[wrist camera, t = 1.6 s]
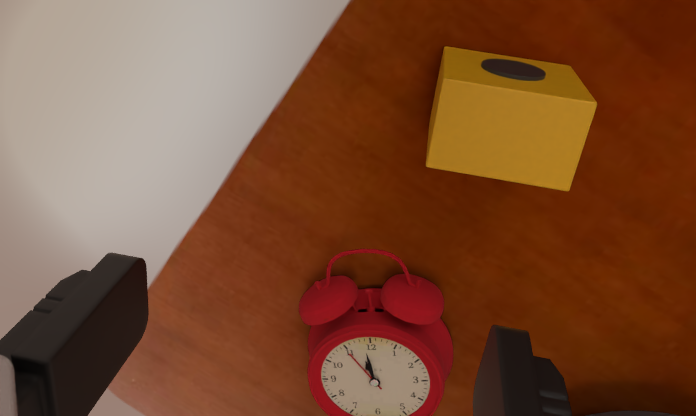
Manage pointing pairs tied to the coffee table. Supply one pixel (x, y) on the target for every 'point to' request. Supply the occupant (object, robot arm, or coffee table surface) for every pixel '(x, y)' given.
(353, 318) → the alarm clock
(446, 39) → the coffee table surface
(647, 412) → the planter
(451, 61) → the yellow rectangular block
